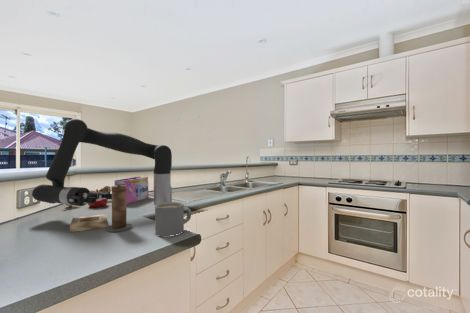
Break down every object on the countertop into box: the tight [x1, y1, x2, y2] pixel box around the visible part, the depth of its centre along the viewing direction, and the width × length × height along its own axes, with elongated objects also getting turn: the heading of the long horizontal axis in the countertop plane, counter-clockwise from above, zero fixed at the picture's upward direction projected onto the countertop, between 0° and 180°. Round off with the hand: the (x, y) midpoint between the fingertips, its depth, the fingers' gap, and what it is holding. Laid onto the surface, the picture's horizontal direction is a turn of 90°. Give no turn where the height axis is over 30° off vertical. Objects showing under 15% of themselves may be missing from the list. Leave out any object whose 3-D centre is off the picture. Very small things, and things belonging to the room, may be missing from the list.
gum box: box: [114, 176, 149, 205], centre depth 147 cm, size 24×8×14 cm, turn 168°
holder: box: [69, 213, 108, 233], centre depth 95 cm, size 12×12×2 cm
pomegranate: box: [87, 189, 109, 208], centre depth 130 cm, size 10×10×9 cm
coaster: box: [105, 223, 133, 233], centre depth 91 cm, size 9×9×1 cm
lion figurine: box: [89, 185, 112, 193], centre depth 144 cm, size 15×5×9 cm, turn 115°
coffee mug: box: [154, 201, 192, 237], centre depth 87 cm, size 13×10×10 cm
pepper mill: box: [110, 182, 128, 229], centre depth 91 cm, size 5×5×17 cm
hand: (104, 198), depth 93 cm, fingers open, 8 cm apart
